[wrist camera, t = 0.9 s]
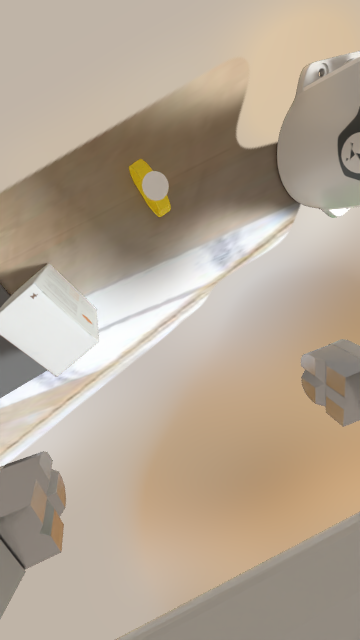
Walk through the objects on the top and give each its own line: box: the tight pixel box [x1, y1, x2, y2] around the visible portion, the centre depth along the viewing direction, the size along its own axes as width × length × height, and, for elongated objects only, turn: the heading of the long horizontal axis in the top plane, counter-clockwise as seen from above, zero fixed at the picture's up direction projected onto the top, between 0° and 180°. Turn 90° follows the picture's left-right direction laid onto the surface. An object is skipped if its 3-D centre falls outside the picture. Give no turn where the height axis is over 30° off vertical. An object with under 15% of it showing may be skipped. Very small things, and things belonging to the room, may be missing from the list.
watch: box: [129, 159, 171, 217], centre depth 31 cm, size 6×3×6 cm, turn 32°
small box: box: [0, 263, 99, 377], centre depth 30 cm, size 8×6×10 cm
